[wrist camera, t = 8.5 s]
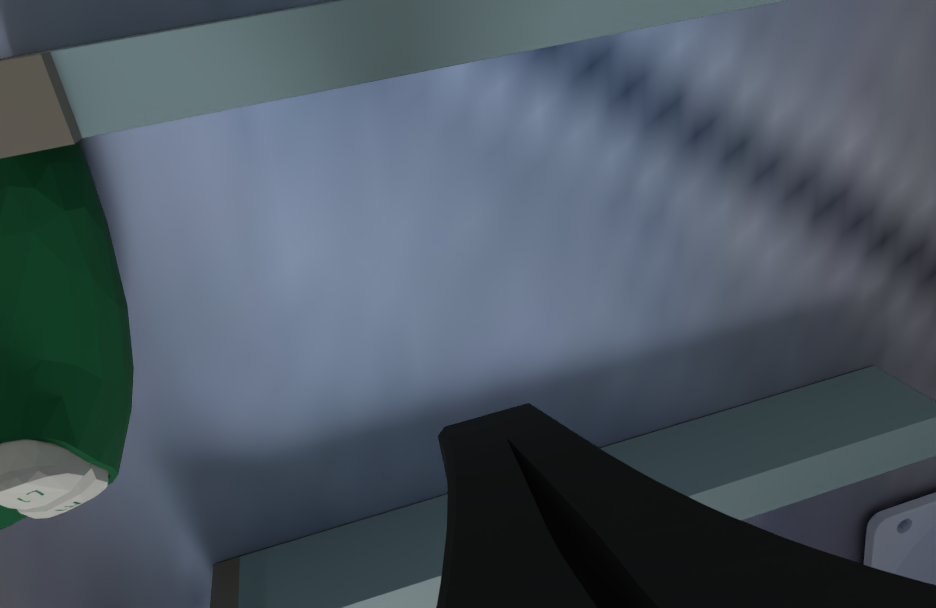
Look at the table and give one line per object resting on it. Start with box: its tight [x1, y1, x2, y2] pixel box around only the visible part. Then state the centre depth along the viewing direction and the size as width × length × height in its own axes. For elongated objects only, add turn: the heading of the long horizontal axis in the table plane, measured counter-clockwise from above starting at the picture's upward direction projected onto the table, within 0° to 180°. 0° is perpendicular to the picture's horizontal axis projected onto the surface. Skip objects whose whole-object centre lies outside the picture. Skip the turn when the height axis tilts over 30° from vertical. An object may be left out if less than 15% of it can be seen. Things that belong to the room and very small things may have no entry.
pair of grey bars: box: [0, 0, 936, 608], centre depth 15 cm, size 18×12×3 cm
